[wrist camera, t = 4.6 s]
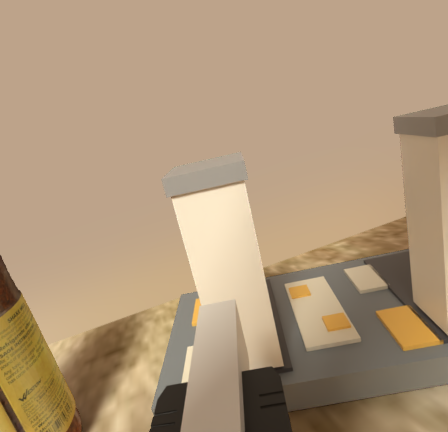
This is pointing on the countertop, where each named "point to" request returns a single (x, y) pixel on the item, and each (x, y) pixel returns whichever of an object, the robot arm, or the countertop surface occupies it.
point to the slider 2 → (427, 206)
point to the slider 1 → (225, 247)
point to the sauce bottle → (29, 371)
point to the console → (336, 334)
